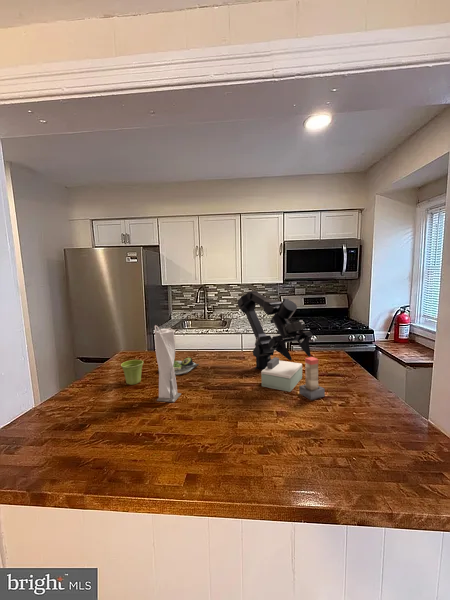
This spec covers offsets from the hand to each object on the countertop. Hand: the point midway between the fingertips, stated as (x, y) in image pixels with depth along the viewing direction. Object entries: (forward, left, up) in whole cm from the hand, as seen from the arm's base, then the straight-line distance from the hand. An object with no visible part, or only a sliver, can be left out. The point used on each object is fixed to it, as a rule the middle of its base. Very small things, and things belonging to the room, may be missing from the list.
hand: (300, 358), depth 111 cm
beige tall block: (+5, -4, -13) cm, 14 cm away
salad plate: (-60, -4, -13) cm, 61 cm away
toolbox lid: (-9, +3, -7) cm, 12 cm away
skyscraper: (-43, -30, -13) cm, 54 cm away
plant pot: (-67, -26, -13) cm, 73 cm away
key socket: (+5, -4, -12) cm, 14 cm away
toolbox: (-9, +3, -12) cm, 16 cm away
